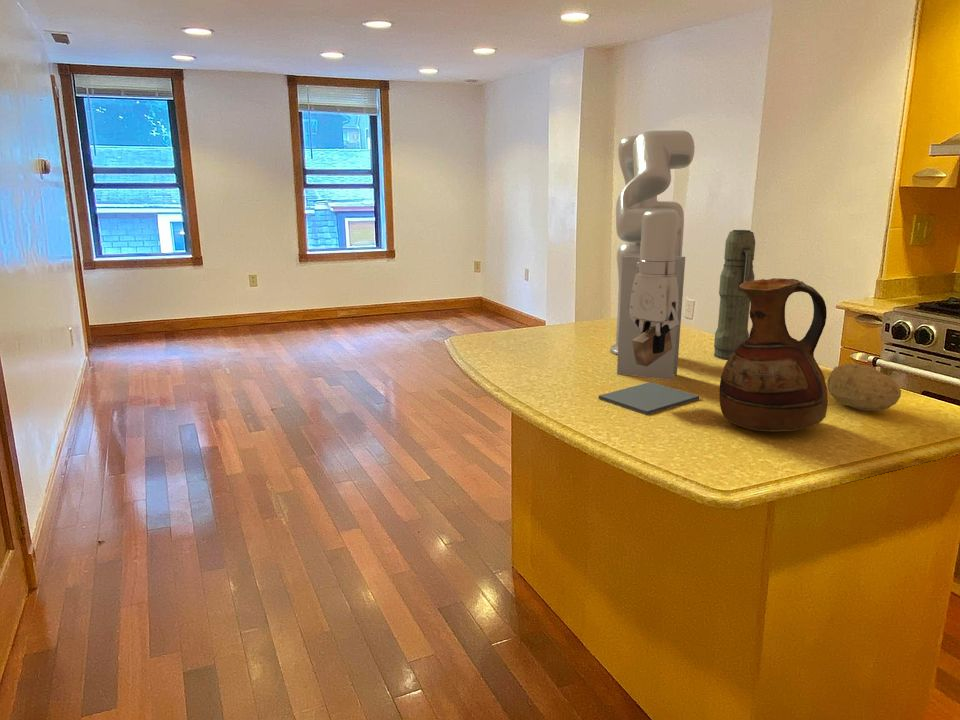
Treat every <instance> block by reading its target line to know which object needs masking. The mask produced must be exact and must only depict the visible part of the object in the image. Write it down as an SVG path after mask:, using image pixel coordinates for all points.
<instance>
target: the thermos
mask: <svg viewBox="0 0 960 720" xmlns="http://www.w3.org/2000/svg"><path fill="white" fill-rule="evenodd" d="M755 251H756V238H755V233H754V232H753V231H751V230H749V229H733V230H732V231H729V232H728V235H727V237H726V240H725V245H724V255H723V257H724V264H723V269H722V270H721V272H720V277H719V287H718V288H719V289H718V294H719V295H718V296H719V306H718V307H719V308H718V318H717V319H718V321H717V328H716V331H715V333H714V340H713V341H714V345H713V347H714V353H713V356H714V358H717V359H720V360H726V361H727V360H728V359H729V357H730V356H731V354H732V353H733V352H734V351H735V350H736V349H737V348H738V346H739V345H740V344H742V343H743V342H745V341H746V340H747V339H748V338H749V335H750V332H749V329H748V327H749V320H750V319H749V317H750V304H751V303H750V299H749V298H748V296H747V295H746V294H745V293H744V292H743V291H742V290H741V289H740V288H739V285H740V284H741V283H743V282H748V281H752V280H755V277H756V276H755V273H754V260H755Z"/></svg>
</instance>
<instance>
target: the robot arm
mask: <svg viewBox="0 0 960 720" xmlns="http://www.w3.org/2000/svg"><path fill="white" fill-rule="evenodd" d="M695 148H696V147H695V142H694V137H693V136H692V134H691V133H690V132H689V131H686V130H649V131H648V130H647V131H644V132H642V133H640V134H638V135H637V134H636V135H630V136H626V137H624V138H622V139H621V140H620V142H619V144H618V149H617V151H618V153H617V154H618V161H619V166H620V169H621V172H622V176H623V180H624V183H625V186H624V187H623V188H622V190H621V191H620V193H619V195H618V197H617V200H616V204H615V205H616V206H615V227H616V228H615V229H616V234H617V237H618V238H619V239H620V240H621V241H622V242H624V243H622V244H621V245H620V246H619V247H618V249H617V253H616V262H617V264H616V265H617V272H618V275H617V276H618V294H617V315H616V316H617V317H616V333H615V334H616V336H615V344H612V345H611V346H610V347H609V348H610V349H609V351H610V353H613V354H615V355H617V356H618V341H619V321H620V301H621V280H622V260H623V256H628V254H631V255H640V261H638V262H637V267H639V273H637V274H636V276H635V279H634V283H633V288H632V294H631V302H630V319H632V320H633V321H634V322H635V323H636V325H637V326H638V328H639V332H640V333H641V334H642V333H643V332H645V331H646V330H648V329H649V328H651V322H656V335H655V336H654V339H653V353H655V354H656V353H661V352H663V351H664V346H665V335H667V334H668V332H669V331H670V330H671V329H673V328H675V327H678V326H679V321H678V318H677V314H678V284H677V277H676V276H674V275H675V259H676V256H679V257H683V244H684V243H683V241H684V240H683V239H684V226H685V215H684V214H685V213H684V209H683V206H682V205H681V204H680V203H678V201H677V202H676V201H669V200H668V201H664V200H663V201H660V200H658V196H659V195H661V194H663V193H665V192H666V190H668V189H669V187H670V185H671V182H672V174H671V170H679V169H681V170H682V169H685V168H687V167H689V166H690V165H691V163H692V161H693V159H694V156H695ZM645 321H646V323H645ZM668 321H670V323H669V324H668Z"/></svg>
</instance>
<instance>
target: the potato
mask: <svg viewBox="0 0 960 720" xmlns="http://www.w3.org/2000/svg"><path fill="white" fill-rule="evenodd" d="M826 387H827V393H829V394H830V395H831V396H832V398H833V399H834V400H835V401H836V402H838V403H840V404H842V405H845V406H848V407H850V408H852V409H855V410H859V411H864V412H865V411H866V412H867V411H875V412H876V411H877V412H878V411H883V410H887V409H890V408H891V407H892V406H894V405H896V404H897V403H898V401H899V400H900V398H901V396H902V389H901V387H900V385H899V384H898V382H897V381H896V380H895V379H893V378H892V377H890V376H889V375H887V374H886V373H884V372H881V371H879V370H877V368H874V367H873V366H871V365H864V364H859V363H843V364H840V365H838V366H837V365H836V366H835V367H834V368H833V369H832V370H831V372H830V373H829V376H828V379H827V382H826Z"/></svg>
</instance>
